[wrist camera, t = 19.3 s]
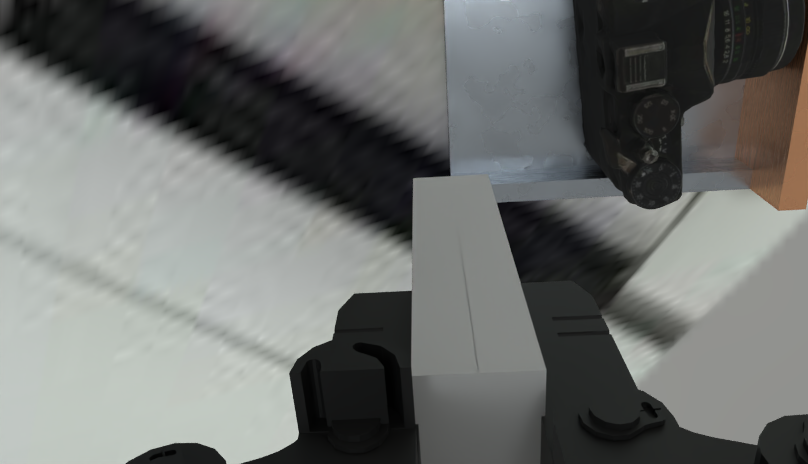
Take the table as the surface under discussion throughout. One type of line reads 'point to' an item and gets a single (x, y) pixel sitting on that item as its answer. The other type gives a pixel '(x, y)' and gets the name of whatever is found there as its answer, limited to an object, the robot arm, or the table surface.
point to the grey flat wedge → (562, 113)
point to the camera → (667, 77)
